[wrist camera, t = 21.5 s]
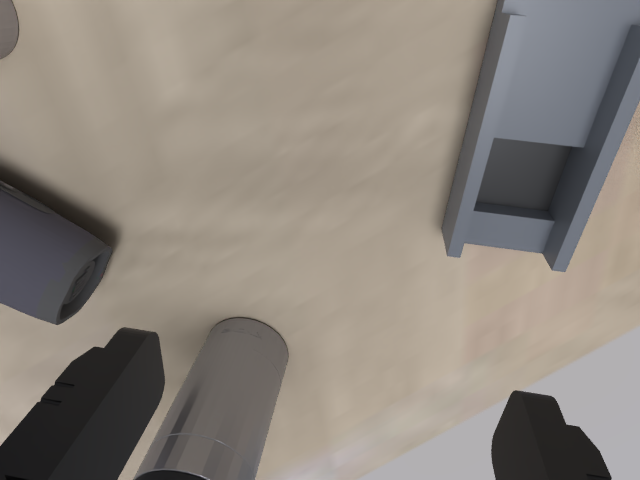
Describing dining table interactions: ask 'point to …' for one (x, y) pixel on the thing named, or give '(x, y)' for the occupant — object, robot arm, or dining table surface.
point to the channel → (544, 125)
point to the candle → (7, 27)
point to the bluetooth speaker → (45, 259)
